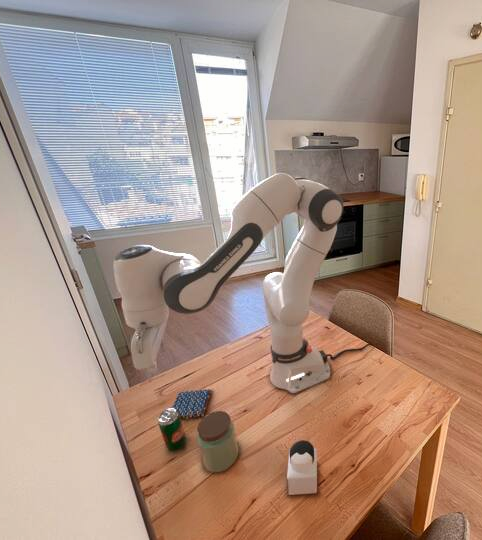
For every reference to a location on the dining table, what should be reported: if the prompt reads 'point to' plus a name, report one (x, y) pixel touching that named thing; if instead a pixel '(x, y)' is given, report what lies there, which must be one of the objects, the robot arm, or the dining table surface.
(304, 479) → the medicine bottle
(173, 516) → the dining table surface
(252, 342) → the dining table surface
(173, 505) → the dining table surface
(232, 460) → the jar
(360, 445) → the dining table surface
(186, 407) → the woven mat
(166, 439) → the soda can
